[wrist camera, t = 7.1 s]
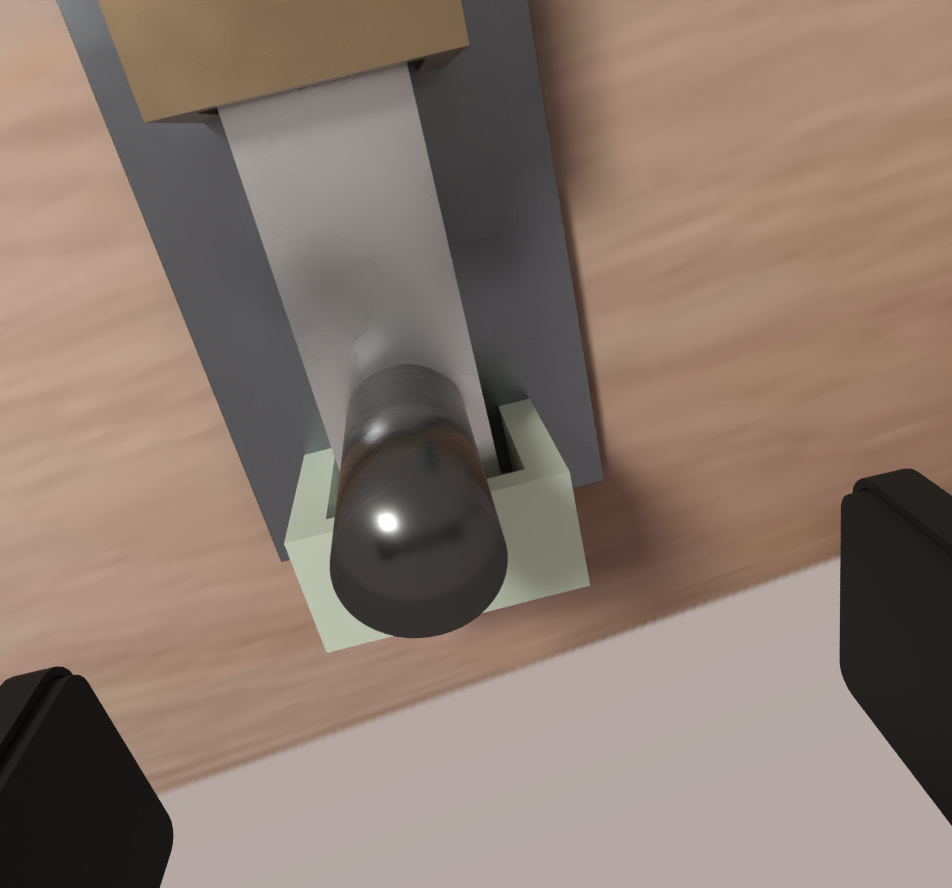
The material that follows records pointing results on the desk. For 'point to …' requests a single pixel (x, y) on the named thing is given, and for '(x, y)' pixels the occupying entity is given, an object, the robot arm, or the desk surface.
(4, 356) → the desk surface
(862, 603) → the robot arm
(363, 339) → the grey slider block
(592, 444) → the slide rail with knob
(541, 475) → the socket
